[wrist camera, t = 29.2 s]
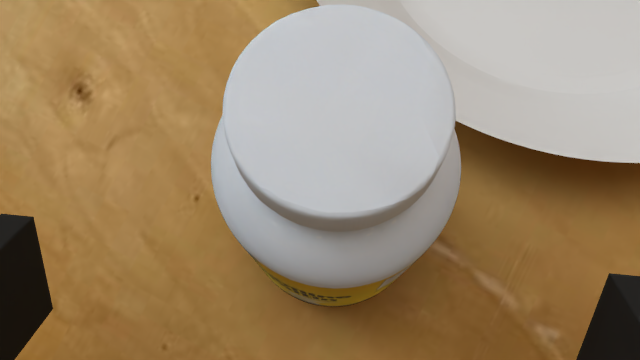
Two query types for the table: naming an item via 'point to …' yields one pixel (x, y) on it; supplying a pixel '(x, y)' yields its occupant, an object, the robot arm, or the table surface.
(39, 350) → the table surface
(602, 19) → the white plate
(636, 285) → the robot arm
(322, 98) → the pill bottle
